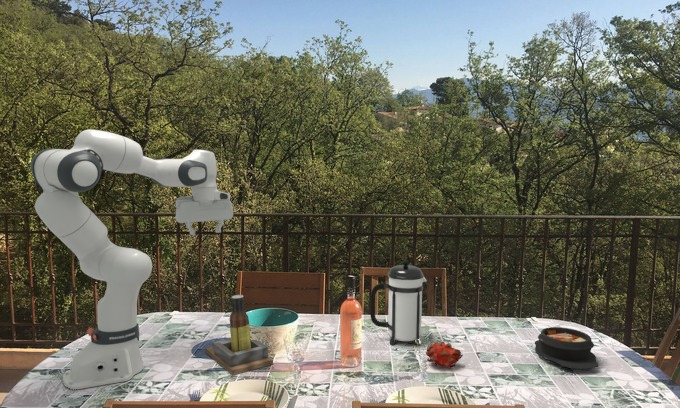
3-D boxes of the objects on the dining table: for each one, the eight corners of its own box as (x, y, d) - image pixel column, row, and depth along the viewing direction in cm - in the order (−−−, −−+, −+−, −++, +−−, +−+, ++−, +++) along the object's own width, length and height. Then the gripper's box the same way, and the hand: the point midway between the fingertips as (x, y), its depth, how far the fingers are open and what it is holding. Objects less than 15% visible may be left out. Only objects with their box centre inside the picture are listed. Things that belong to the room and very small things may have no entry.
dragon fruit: (422, 368, 158) (458, 374, 158) (427, 362, 151) (466, 369, 150) (423, 342, 162) (459, 348, 162) (428, 335, 155) (466, 341, 155)
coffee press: (402, 329, 190) (403, 253, 187) (433, 341, 177) (435, 260, 175) (368, 339, 179) (369, 259, 177) (399, 352, 167) (400, 266, 164)
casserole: (521, 345, 175) (522, 322, 174) (572, 344, 176) (573, 321, 175) (555, 375, 150) (556, 349, 149) (614, 374, 151) (615, 348, 150)
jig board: (232, 375, 149) (232, 359, 148) (205, 352, 166) (205, 338, 166) (273, 364, 157) (273, 349, 157) (243, 343, 175) (243, 329, 174)
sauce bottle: (253, 351, 163) (251, 293, 161) (248, 359, 157) (246, 299, 155) (234, 351, 164) (232, 293, 162) (228, 358, 157) (226, 298, 156)
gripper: (178, 197, 165) (179, 237, 166) (234, 194, 177) (235, 232, 178) (172, 195, 170) (173, 235, 171) (227, 193, 182) (228, 230, 183)
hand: (205, 233), depth 175 cm, fingers open, 8 cm apart
